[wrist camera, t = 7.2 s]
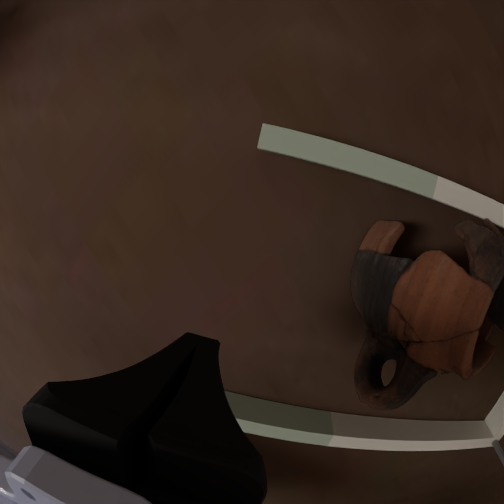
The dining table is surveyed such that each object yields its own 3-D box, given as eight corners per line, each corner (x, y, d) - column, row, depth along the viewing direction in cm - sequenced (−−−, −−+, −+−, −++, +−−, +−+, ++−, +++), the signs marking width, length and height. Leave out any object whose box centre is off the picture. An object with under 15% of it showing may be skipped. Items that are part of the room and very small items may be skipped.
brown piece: (387, 166, 17) (519, 190, 10) (445, 242, 22) (536, 275, 15) (281, 352, 17) (381, 451, 10) (367, 379, 22) (445, 440, 15)
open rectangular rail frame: (485, 429, 21) (528, 514, 10) (206, 398, 22) (161, 530, 11) (575, 247, 16) (668, 297, 5) (266, 128, 17) (231, 69, 6)
